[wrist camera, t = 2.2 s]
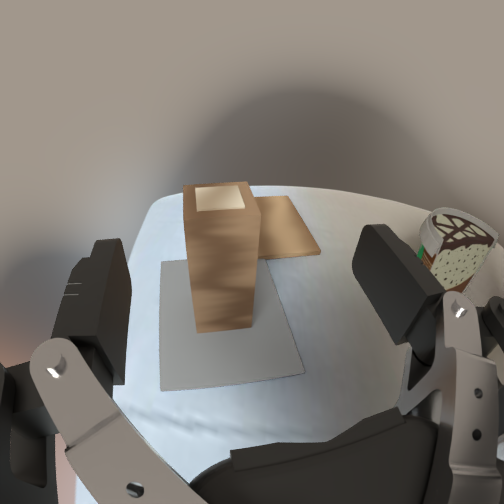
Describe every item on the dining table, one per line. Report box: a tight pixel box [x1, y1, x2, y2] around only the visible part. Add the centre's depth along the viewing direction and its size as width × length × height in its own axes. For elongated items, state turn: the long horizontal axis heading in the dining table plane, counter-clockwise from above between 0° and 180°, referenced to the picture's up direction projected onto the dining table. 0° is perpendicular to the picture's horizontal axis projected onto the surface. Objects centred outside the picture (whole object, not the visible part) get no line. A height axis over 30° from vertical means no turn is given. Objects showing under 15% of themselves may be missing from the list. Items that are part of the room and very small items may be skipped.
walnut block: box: [183, 182, 261, 333], centre depth 24 cm, size 5×5×12 cm
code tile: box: [159, 259, 305, 391], centre depth 28 cm, size 12×16×1 cm
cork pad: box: [254, 196, 321, 259], centre depth 40 cm, size 12×14×1 cm
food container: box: [417, 208, 499, 294], centre depth 29 cm, size 12×6×10 cm, turn 101°
